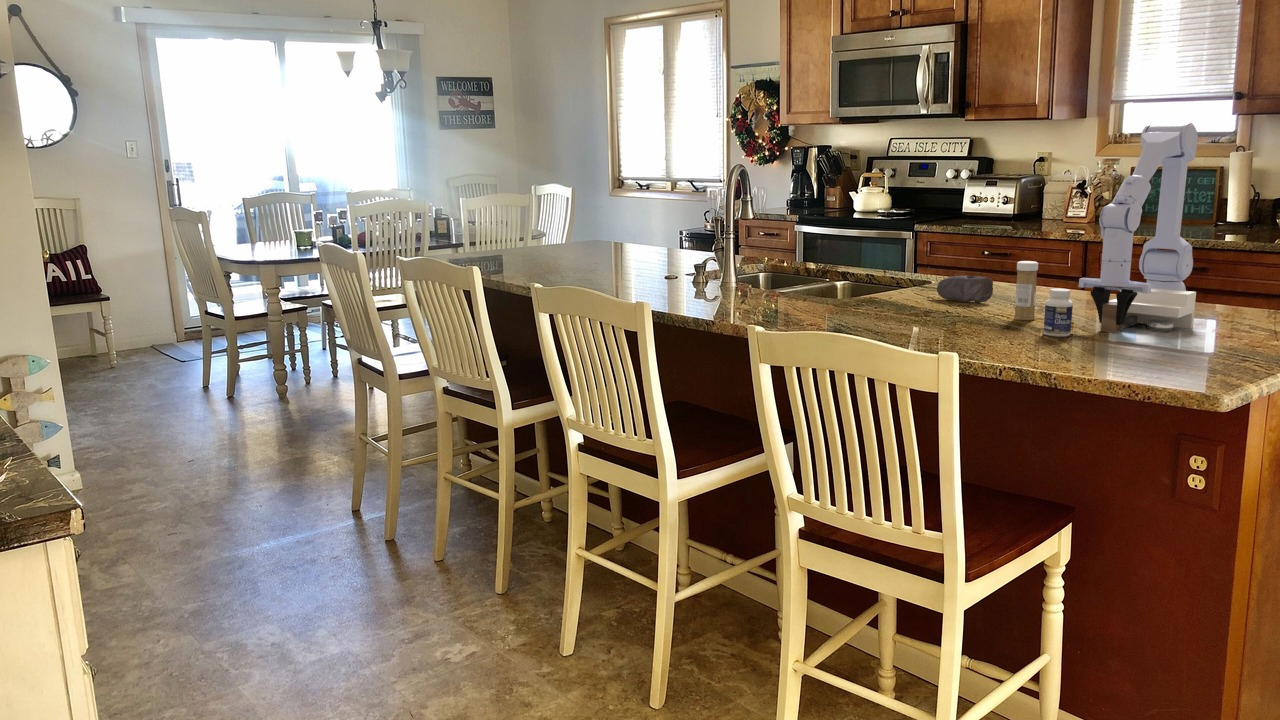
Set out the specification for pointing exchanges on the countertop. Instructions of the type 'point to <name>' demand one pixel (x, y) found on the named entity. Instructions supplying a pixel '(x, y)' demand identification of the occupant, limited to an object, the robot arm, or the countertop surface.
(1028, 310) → the sprinkles bottle
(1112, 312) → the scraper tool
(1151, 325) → the steel puck
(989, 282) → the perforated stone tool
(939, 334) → the countertop surface
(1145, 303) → the stepped stand
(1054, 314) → the pill bottle
